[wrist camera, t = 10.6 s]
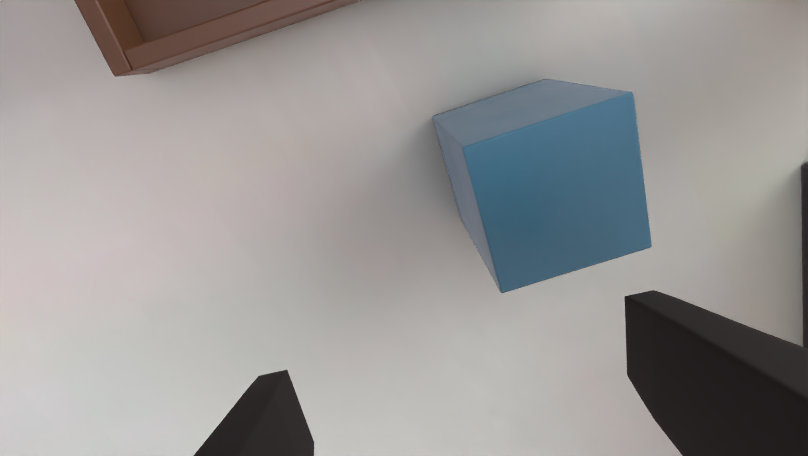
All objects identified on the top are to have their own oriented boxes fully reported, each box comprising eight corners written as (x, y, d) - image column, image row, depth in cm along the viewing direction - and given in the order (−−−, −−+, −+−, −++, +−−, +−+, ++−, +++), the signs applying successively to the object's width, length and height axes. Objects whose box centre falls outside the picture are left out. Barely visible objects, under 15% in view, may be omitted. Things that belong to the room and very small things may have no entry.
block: (461, 221, 19) (501, 294, 13) (431, 115, 17) (461, 147, 11) (567, 188, 18) (652, 247, 13) (546, 78, 17) (634, 91, 11)
